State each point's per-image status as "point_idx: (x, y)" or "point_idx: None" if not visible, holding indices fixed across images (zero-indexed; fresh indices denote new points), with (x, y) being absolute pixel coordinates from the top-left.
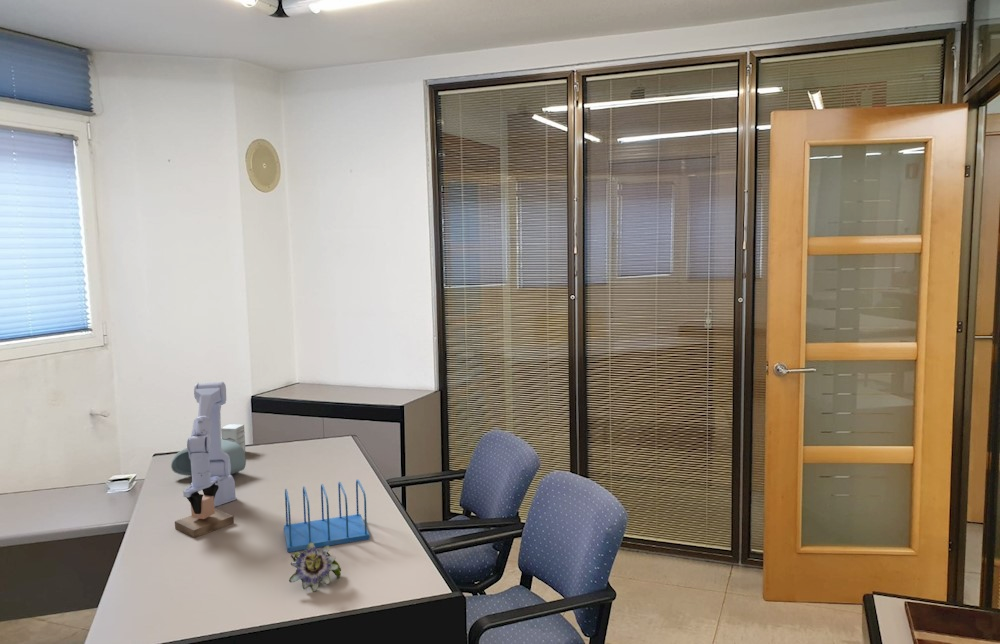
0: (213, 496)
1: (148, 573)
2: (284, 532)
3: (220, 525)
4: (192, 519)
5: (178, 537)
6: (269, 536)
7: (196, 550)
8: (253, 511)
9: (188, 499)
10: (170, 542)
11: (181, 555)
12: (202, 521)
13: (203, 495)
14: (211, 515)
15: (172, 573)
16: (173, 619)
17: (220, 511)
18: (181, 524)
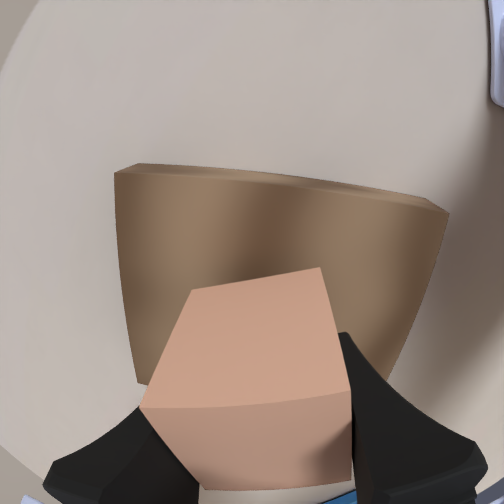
0: (349, 477)
1: (4, 386)
2: (338, 499)
3: None
4: (212, 260)
5: (101, 290)
6: (312, 488)
7: (117, 418)
8: (492, 338)
9: (90, 452)
10: (62, 301)
11: (74, 401)
12: None
13: (332, 425)
14: (334, 316)
15: (46, 427)
16: (44, 473)
17: (409, 311)
18: (120, 267)
